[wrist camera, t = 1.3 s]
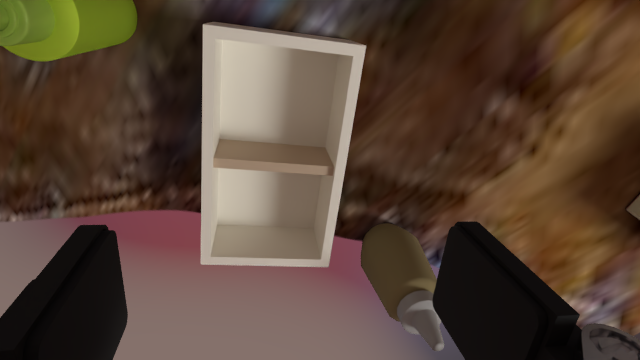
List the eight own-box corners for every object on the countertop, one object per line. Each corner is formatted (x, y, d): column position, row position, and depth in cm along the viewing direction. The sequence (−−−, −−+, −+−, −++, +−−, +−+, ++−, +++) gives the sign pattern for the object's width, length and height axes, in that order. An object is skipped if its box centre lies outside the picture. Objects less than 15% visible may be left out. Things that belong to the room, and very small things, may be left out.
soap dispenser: (142, -22, 36) (19, -54, 18) (133, 52, 38) (18, 91, 20) (73, -44, 34) (-138, -104, 16) (69, 34, 37) (-118, 58, 19)
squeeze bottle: (342, 239, 51) (380, 347, 35) (391, 203, 50) (454, 298, 33) (375, 274, 54) (423, 388, 38) (421, 242, 53) (492, 345, 37)
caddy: (213, 21, 38) (202, 24, 31) (348, 39, 40) (366, 45, 34) (209, 227, 47) (200, 264, 40) (319, 232, 50) (328, 267, 43)
